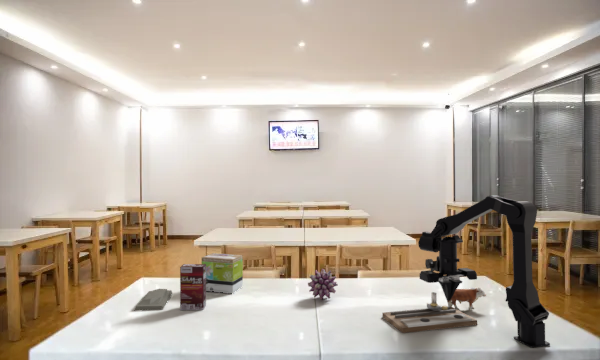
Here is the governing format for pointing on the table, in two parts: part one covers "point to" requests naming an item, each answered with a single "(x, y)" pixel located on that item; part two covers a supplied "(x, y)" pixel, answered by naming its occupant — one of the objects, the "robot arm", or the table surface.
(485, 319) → the table surface
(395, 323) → the brown flat wooden board
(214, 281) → the tea box
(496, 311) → the table surface
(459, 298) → the bull figurine
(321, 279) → the purple spiky ball
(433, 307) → the sliding handle
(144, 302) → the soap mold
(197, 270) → the supplement box
